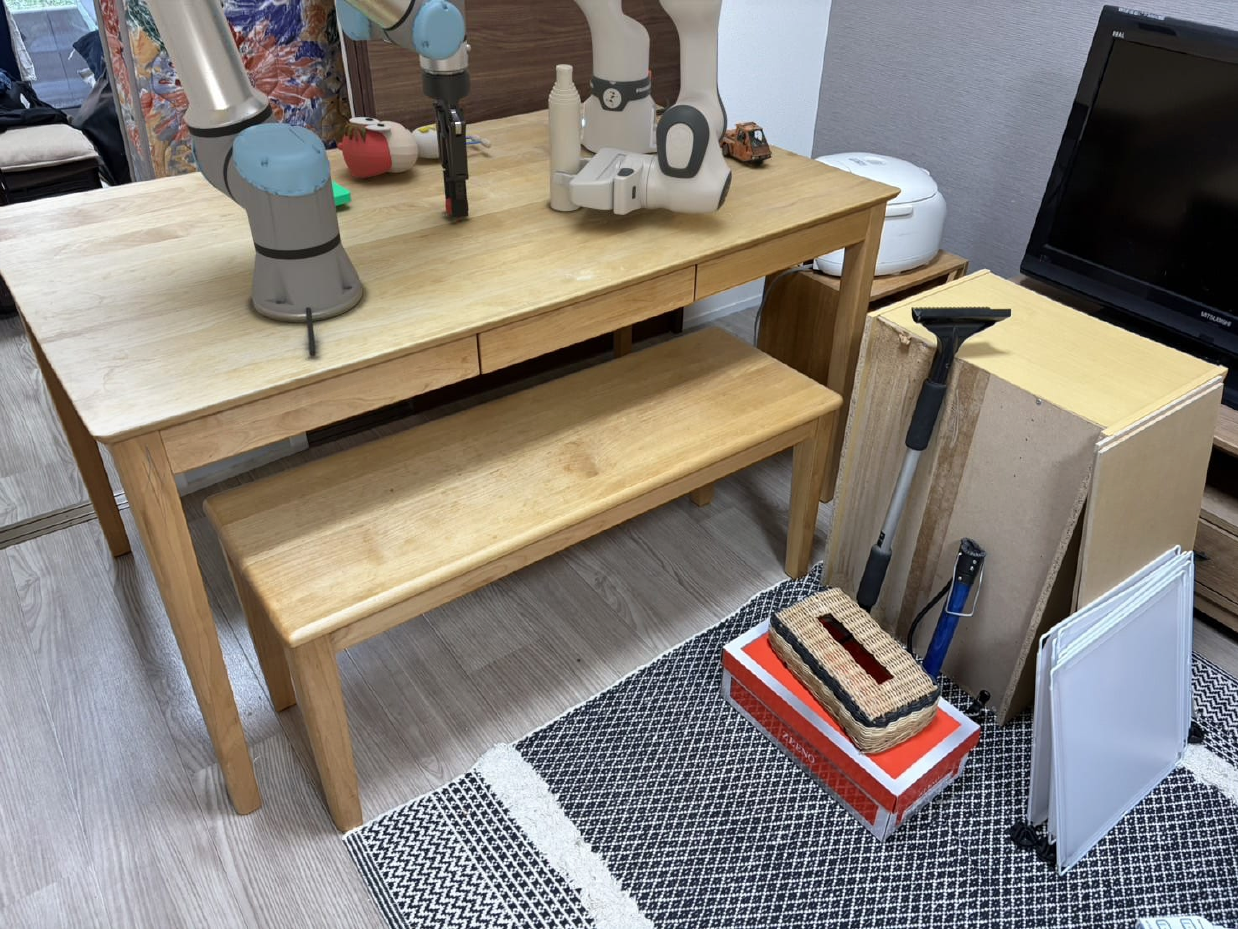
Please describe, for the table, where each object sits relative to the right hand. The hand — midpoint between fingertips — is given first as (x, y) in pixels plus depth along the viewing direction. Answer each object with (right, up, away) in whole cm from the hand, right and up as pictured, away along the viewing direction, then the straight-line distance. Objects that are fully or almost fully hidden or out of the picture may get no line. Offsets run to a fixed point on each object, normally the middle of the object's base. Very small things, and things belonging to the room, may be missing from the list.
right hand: (560, 170), depth 162 cm
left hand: (-18, -8, -3) cm, 20 cm away
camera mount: (-43, -5, +2) cm, 43 cm away
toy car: (+36, +11, +26) cm, 45 cm away
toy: (-29, +7, +19) cm, 35 cm away
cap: (-18, -7, -4) cm, 19 cm away
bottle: (+1, -5, +4) cm, 6 cm away
